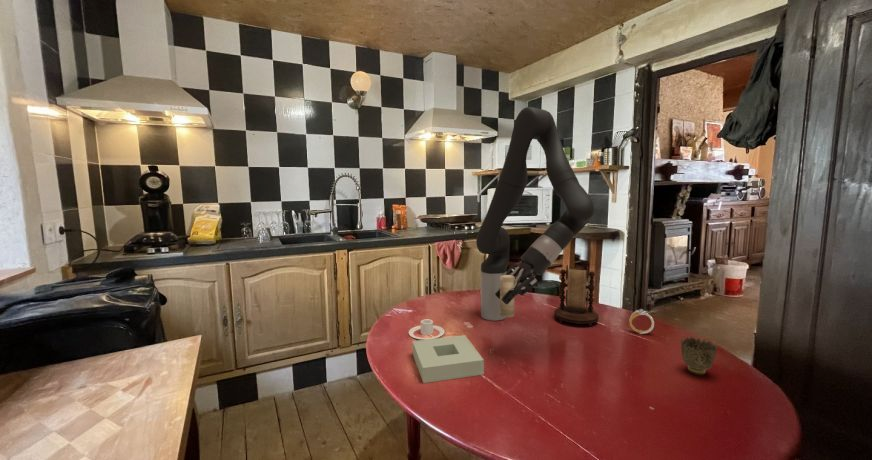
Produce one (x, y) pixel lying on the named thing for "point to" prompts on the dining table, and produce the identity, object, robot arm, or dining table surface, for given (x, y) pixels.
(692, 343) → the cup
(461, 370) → the square hole plate
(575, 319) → the scroll
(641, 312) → the ring
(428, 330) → the candle holder
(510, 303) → the birch peg
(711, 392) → the dining table surface
